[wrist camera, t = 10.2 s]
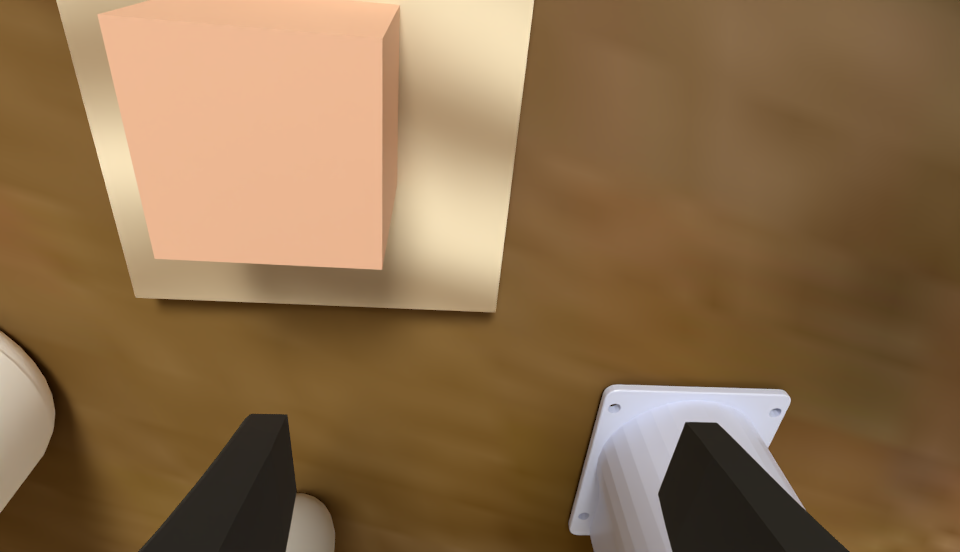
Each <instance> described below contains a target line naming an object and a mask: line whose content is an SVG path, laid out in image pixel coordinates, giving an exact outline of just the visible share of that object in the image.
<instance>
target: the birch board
mask: <svg viewBox="0 0 960 552" xmlns="http://www.w3.org/2000/svg"><path fill="white" fill-rule="evenodd" d="M56 1H57V5H58V8H59V12H60V16H61V20H62V23H63V27H64V31H65V35H66V38H67V42H68V46H69V50H70V53H71V57H72V61H73V65H74V68H75V72H76V76H77V80H78V83H79V87H80V91H81V95H82V98H83V102H84V106H85V110H86V113H87V117H88V121H89V125H90V128H91V132H92V136H93V140H94V143H95V147H96V151H97V155H98V158H99V162H100V166H101V169H102V173H103V177H104V181H105V184H106V188H107V192H108V196H109V199H110V203H111V207H112V211H113V214H114V218H115V222H116V226H117V229H118V233H119V237H120V241H121V244H122V248H123V252H124V256H125V259H126V263H127V267H128V271H129V274H130V278H131V282H132V286H133V289H134V293H135V297H136V298H158V299H182V300H207V301H231V302H256V303H280V304H304V305H329V306H353V307H377V308H402V309H426V310H450V311H475V312H496V304H497V296H498V288H499V279H500V271H501V263H502V255H503V247H504V239H505V231H506V223H507V215H508V207H509V199H510V191H511V182H512V174H513V166H514V158H515V150H516V142H517V134H518V126H519V118H520V110H521V102H522V94H523V86H524V77H525V69H526V61H527V53H528V45H529V37H530V29H531V21H532V13H533V5H534V0H351V1H362V2H373V3H384V4H395V5H400V29H399V94H398V159H397V188H396V194H395V200H394V206H393V211H392V217H391V223H390V228H389V234H388V240H387V245H386V251H385V257H384V262H383V268H382V270H375V269H355V268H334V267H313V266H292V265H272V264H251V263H230V262H210V261H189V260H168V259H155V258H154V254H153V250H152V245H151V241H150V237H149V233H148V228H147V224H146V220H145V215H144V211H143V207H142V203H141V198H140V194H139V190H138V186H137V181H136V177H135V173H134V169H133V164H132V160H131V156H130V152H129V147H128V143H127V139H126V135H125V130H124V126H123V122H122V118H121V113H120V109H119V105H118V101H117V96H116V92H115V88H114V83H113V79H112V75H111V71H110V66H109V62H108V58H107V54H106V49H105V45H104V41H103V37H102V32H101V28H100V24H99V20H98V15H97V14H101V13H104V12H108V11H112V10H115V9H119V8H123V7H126V6H130V5H134V4H137V3H141V2H145V1H148V0H56Z"/></svg>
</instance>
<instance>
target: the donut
mask: <svg viewBox="0 0 960 552" xmlns="http://www.w3.org/2000/svg"><path fill="white" fill-rule="evenodd" d="M334 548H335V530H334V526H333V522H332V518H331V514H330V513H329V511H328V510H327V508H326V506H325V505H324V504H323V503H322V502H321V501H319V500H318V499H317V498H316V497H313V496H310V495H307V494H304V493H296V498H295V504H294V509H293V515H292V521H291V526H290V532H289V537H288V542H287V547H286V552H334Z"/></svg>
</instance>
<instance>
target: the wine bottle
mask: <svg viewBox="0 0 960 552" xmlns="http://www.w3.org/2000/svg"><path fill="white" fill-rule="evenodd" d="M54 421H55V408H54V402H53V397H52V393H51V391H50V389H49V386H48V384H47V381H46V379H45V377H44V376H43V374H42V373H41V371H40V370H39V368H38V367H37V365H36V364H35V362H34V361H33V360H32V359H31V358H30V357H29V356H28V355H27V354H26V353H25V351H24V350H23V349H22V348H21V347H20V346H19V345H17V344H16V343H15V342H14V341H13V340H11V339H10V338H9V337H8V336H7V335H5V334H4V333H3V332H2V331H0V513H1V511H2V510H3V509H4V507H5V506H6V505H7V503H8V502H9V501H10V499H11V498H12V497H13V495H14V494H15V493H16V491H17V490H18V489H19V487H20V486H21V485H22V483H23V482H24V481H25V479H26V478H27V477H28V475H29V474H30V473H31V471H32V470H33V469H34V467H35V466H36V464H37V463H38V462H39V460H40V459H41V458H42V456H43V455H44V453H45V451H46V448H47V446H48V444H49V441H50V438H51V436H52V433H53V430H54Z"/></svg>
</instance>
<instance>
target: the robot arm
mask: <svg viewBox="0 0 960 552" xmlns="http://www.w3.org/2000/svg"><path fill="white" fill-rule="evenodd" d="M790 402H791V399H790V397H789V395H788V394H787V393H786V392H785V391H784V390H780V389H751V388H717V387H684V386H651V385H618V384H617V385H611V386H609V387H607V388H606V389H605V390H604V392H603V395H602V399H601V402H600V406H599V410H598V414H597V418H596V421H595V425H594V429H593V433H592V436H591V440H590V444H589V448H588V451H587V455H586V459H585V463H584V466H583V470H582V474H581V478H580V482H579V485H578V489H577V493H576V497H575V500H574V504H573V508H572V512H571V515H570V519H569V529H570V532H571V533H573V534H575V535H590V537H591V541H592V546H593V550H594V552H849V551H848V550H847V549H846V548H845V547H844V546H843V545H842V544H840V543H839V542H838V541H837V540H836V539H835V538H834V537H833V536H832V535H831V534H830V533H829V532H828V531H826V530H825V529H824V528H823V527H822V526H821V525H820V524H819V523H818V522H817V521H816V520H815V519H814V518H813V517H812V516H811V515H810V514H809V513H808V512H807V511H806V510H805V508H804V507H803V505H802V503H801V502H800V500H799V498H798V497H797V495H796V494H795V492H794V490H793V489H792V487H791V485H790V484H789V482H788V480H787V479H786V477H785V476H784V474H783V472H782V471H781V469H780V467H779V466H778V464H777V463H776V461H775V459H774V458H773V456H772V454H771V453H770V451H769V450H768V447H769V445H770V443H771V441H772V439H773V437H774V435H775V433H776V431H777V429H778V427H779V425H780V423H781V421H782V419H783V417H784V415H785V413H786V411H787V409H788V407H789V405H790ZM612 404H616V405H615V406H610V405H612ZM296 492H297V491H296V482H295V474H294V466H293V458H292V450H291V441H290V433H289V425H288V417H287V415H282V414H250V415H249V416H248V417H247V418H245V420H244V421H243V422H242V424H241V425H240V427H239V428H238V429H237V431H236V432H235V433H234V435H233V436H232V438H231V439H230V440H229V442H228V443H227V444H226V446H225V447H224V448H223V450H222V451H221V452H220V454H219V455H218V456H217V458H216V459H215V460H214V462H213V463H212V464H211V465H210V467H209V468H208V469H207V471H206V472H205V473H204V474H203V476H202V477H201V478H200V479H199V481H198V482H197V483H196V485H195V486H194V487H193V488H192V489H191V491H190V492H189V493H188V494H187V495H186V497H185V498H184V499H183V500H182V501H181V503H180V504H179V505H178V506H177V508H176V509H175V510H174V511H173V512H172V514H171V515H170V516H169V517H168V518H167V520H166V521H165V522H164V523H163V524H162V526H161V527H160V528H159V529H158V530H157V531H156V532H155V534H154V535H153V536H152V537H151V538H150V539H149V540H148V541H147V543H146V544H145V545H144V546H143V547H142V548H141V549H140V550H139V551H138V552H286V547H287V542H288V537H289V532H290V526H291V521H292V515H293V509H294V504H295V498H296Z"/></svg>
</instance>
